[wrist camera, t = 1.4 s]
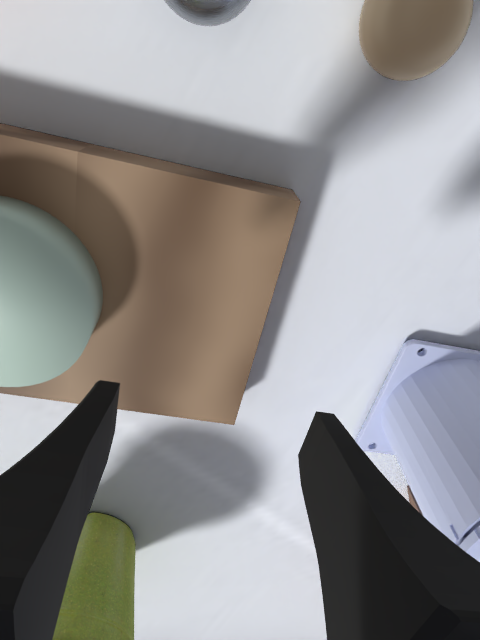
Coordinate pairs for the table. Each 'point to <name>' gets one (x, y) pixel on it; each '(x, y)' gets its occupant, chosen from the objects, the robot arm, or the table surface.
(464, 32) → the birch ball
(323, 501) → the robot arm
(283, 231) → the brown flat rectangular block
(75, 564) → the plant pot
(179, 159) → the table surface
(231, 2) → the steel ball
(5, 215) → the green smooth pebble
